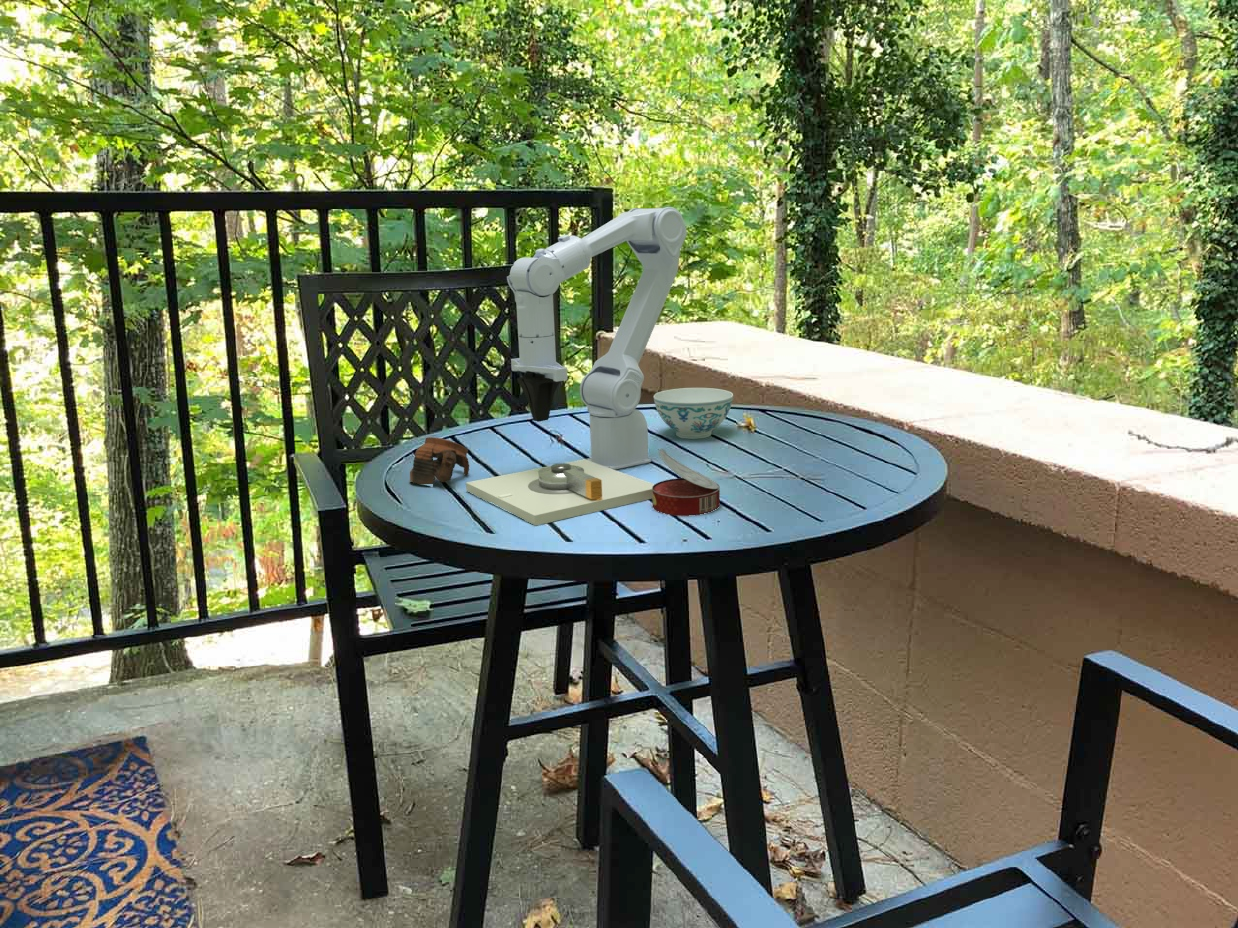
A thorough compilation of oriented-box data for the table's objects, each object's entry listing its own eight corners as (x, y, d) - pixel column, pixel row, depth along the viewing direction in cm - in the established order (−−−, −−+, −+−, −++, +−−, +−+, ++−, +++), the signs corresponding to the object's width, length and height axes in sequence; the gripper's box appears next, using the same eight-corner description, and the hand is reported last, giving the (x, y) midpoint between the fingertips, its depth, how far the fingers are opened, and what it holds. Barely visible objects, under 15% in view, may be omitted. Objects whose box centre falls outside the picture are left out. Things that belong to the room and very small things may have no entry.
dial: (531, 482, 153) (530, 464, 152) (570, 474, 156) (569, 457, 155) (575, 503, 141) (575, 484, 140) (617, 494, 145) (616, 476, 144)
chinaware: (737, 442, 180) (736, 401, 178) (655, 445, 181) (654, 403, 179) (729, 425, 195) (729, 386, 193) (654, 427, 195) (653, 389, 193)
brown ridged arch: (398, 482, 164) (413, 436, 165) (450, 499, 168) (464, 453, 169) (420, 480, 153) (435, 430, 155) (475, 498, 157) (489, 449, 159)
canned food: (673, 526, 150) (685, 463, 152) (728, 531, 144) (740, 465, 145) (628, 509, 142) (641, 442, 144) (684, 513, 135) (697, 443, 137)
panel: (584, 467, 167) (584, 458, 166) (662, 496, 149) (661, 485, 149) (466, 491, 155) (465, 481, 154) (535, 525, 137) (534, 514, 137)
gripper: (492, 333, 158) (497, 416, 161) (537, 342, 146) (541, 431, 150) (531, 329, 162) (535, 410, 165) (577, 337, 150) (581, 424, 153)
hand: (540, 420), depth 158 cm, fingers closed
